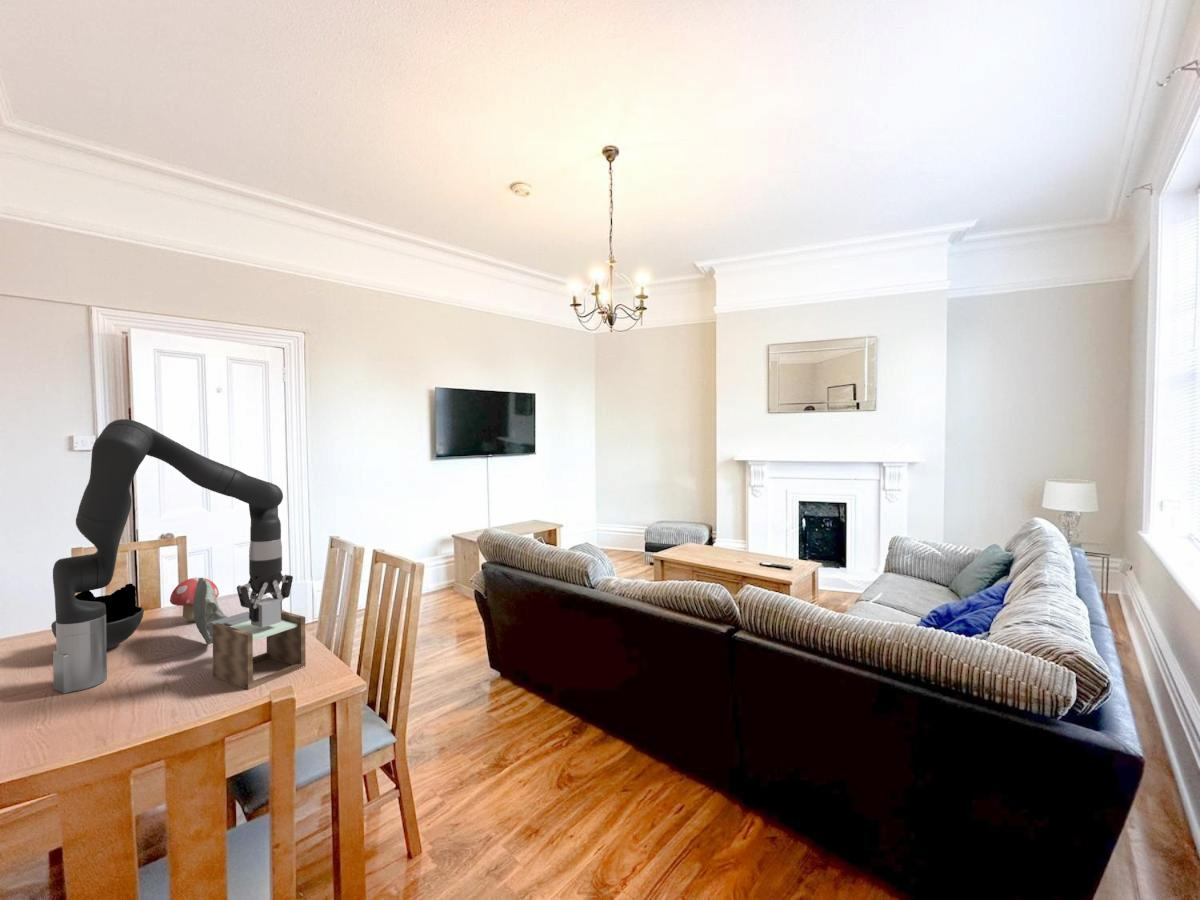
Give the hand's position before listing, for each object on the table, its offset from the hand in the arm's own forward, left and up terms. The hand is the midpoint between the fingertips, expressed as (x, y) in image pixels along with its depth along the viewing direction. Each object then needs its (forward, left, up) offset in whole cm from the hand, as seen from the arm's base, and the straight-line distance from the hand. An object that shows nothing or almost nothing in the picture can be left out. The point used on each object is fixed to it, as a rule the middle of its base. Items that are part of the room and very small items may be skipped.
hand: (265, 617), depth 143 cm
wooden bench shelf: (0, +3, -15) cm, 16 cm away
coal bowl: (-14, +59, -16) cm, 63 cm away
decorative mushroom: (+12, +61, -16) cm, 64 cm away
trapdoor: (0, +7, -7) cm, 10 cm away
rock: (+3, +35, -16) cm, 38 cm away
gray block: (0, 0, -1) cm, 1 cm away
